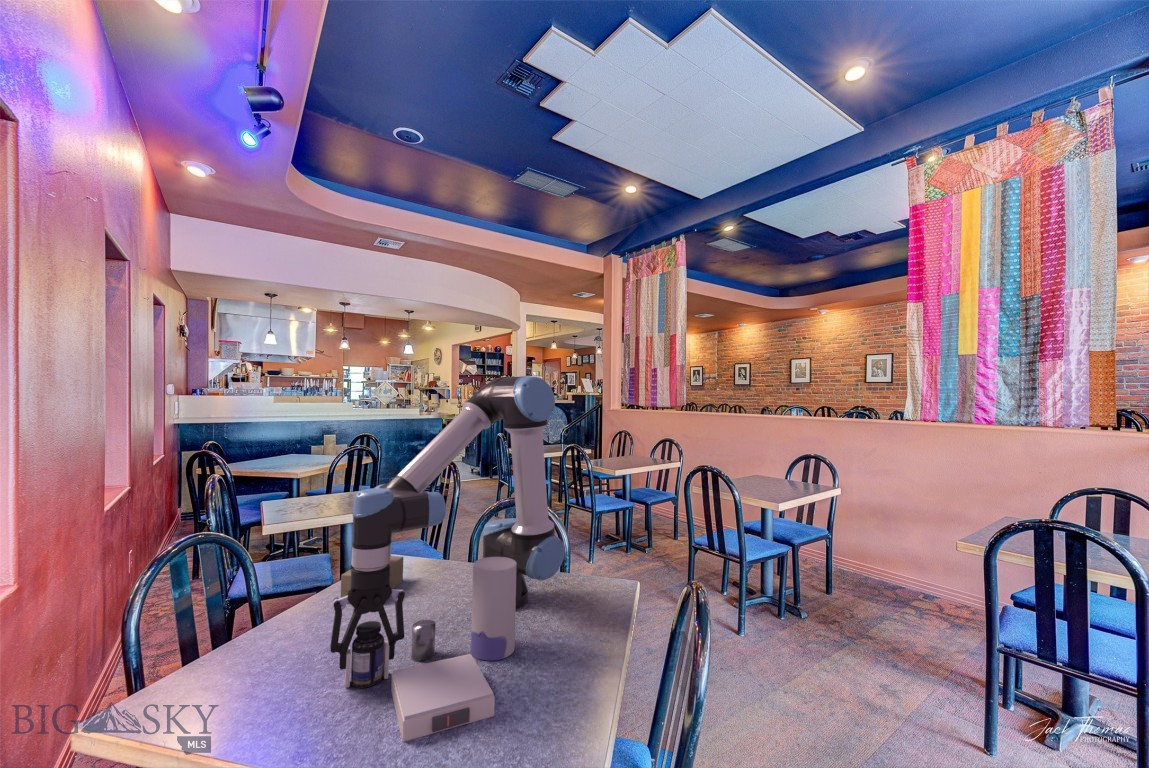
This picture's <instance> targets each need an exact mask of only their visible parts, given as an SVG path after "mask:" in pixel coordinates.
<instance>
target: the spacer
mask: <svg viewBox="0 0 1149 768" xmlns="http://www.w3.org/2000/svg"><path fill="white" fill-rule="evenodd" d="M411 627H412V628H411V633H412V634H411V660H412V662H416V663H424V662H428V661H431V660H432V659H433V658H435V656H436V653H435V651H436V621H435V620H432V619H420V620H417V621H415V622H414V623H413V624H412V626H411Z"/></svg>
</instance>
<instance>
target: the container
mask: <svg viewBox="0 0 1149 768" xmlns="http://www.w3.org/2000/svg"><path fill="white" fill-rule="evenodd" d="M516 565H517V563H516V561H515V560H513V559H511V558H506V557H487V558H483V557H482V558H479V559H477V560H475V561H474V562H473V564H472V595H471V596H472V598H471V600H472V601H471V626H470V627H471V630H470V631H471V632H470V633H471V634H470V640H471V641H470V654H471V655H472V656H473V658H475V659H478V660H482V661H487V662H488V661H499V660H503V659H505V658H507V657H509V656H511V655H512V654H513V653H514V651H515V644H516V643H515V641H516V639H515V638H516V609H515V608H516Z"/></svg>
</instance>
